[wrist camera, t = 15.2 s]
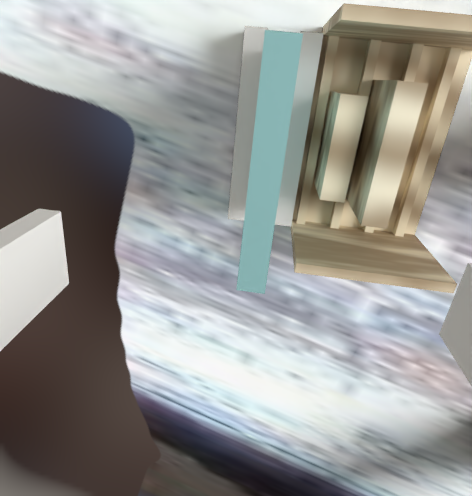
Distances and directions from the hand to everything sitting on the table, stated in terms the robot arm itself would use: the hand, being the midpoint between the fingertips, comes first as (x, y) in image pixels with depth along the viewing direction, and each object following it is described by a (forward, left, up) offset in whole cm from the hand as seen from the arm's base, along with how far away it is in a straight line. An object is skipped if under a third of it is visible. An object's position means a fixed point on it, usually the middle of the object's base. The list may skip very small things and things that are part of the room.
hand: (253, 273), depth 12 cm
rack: (0, -11, -35) cm, 37 cm away
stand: (0, 0, -35) cm, 35 cm away
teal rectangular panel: (0, 0, -34) cm, 34 cm away
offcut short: (0, -7, -33) cm, 34 cm away
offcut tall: (0, -11, -33) cm, 35 cm away
